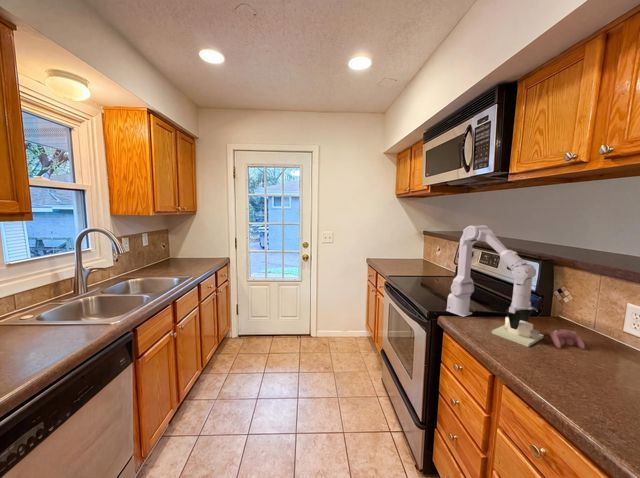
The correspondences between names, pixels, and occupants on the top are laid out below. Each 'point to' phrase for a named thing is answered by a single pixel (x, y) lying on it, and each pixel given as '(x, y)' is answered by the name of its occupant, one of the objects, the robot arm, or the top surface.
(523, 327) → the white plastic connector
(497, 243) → the robot arm
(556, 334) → the pink toy car
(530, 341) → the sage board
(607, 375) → the top surface
